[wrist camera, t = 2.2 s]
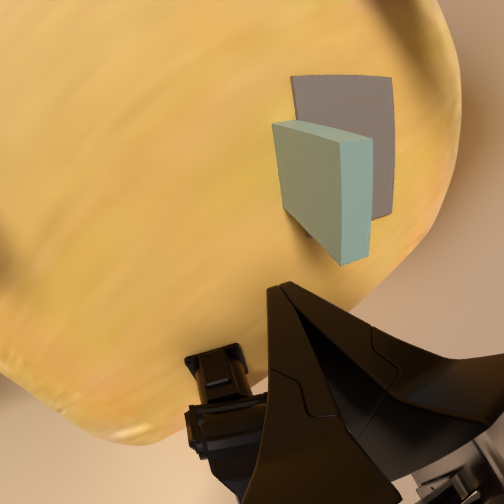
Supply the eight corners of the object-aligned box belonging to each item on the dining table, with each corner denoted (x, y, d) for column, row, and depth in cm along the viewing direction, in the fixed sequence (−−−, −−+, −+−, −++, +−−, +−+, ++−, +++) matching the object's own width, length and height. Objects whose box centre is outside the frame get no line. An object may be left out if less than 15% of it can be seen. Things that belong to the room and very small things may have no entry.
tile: (304, 201, 23) (368, 256, 15) (282, 206, 22) (340, 266, 15) (296, 119, 19) (372, 138, 11) (271, 123, 18) (339, 142, 11)
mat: (389, 211, 26) (391, 213, 26) (307, 236, 25) (309, 238, 24) (388, 77, 18) (391, 77, 18) (290, 76, 17) (292, 76, 16)
